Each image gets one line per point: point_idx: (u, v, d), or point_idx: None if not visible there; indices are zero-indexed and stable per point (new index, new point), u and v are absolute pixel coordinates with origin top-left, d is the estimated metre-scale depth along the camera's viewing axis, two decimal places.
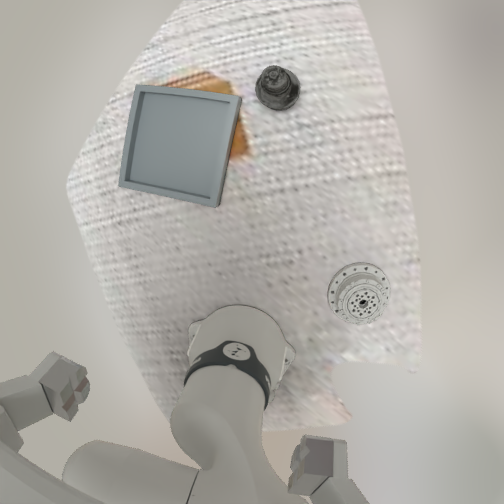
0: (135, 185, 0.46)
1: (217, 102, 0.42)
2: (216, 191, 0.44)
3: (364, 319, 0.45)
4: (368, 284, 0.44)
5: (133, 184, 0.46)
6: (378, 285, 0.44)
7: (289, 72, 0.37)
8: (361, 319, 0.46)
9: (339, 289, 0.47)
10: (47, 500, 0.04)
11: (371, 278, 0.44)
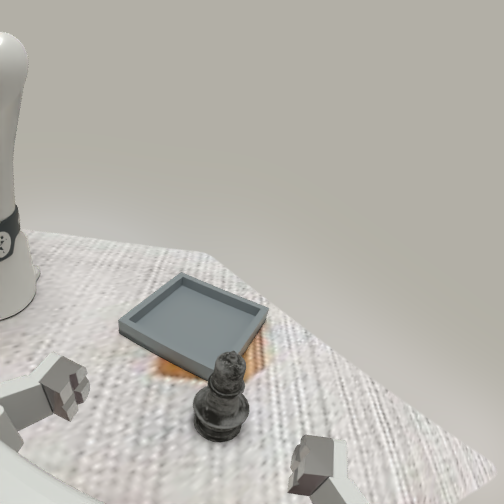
0: (174, 281, 0.51)
1: None
2: (132, 326, 0.40)
3: None
4: None
5: (176, 280, 0.51)
6: None
7: (239, 422, 0.29)
8: None
9: None
10: (47, 500, 0.04)
11: None
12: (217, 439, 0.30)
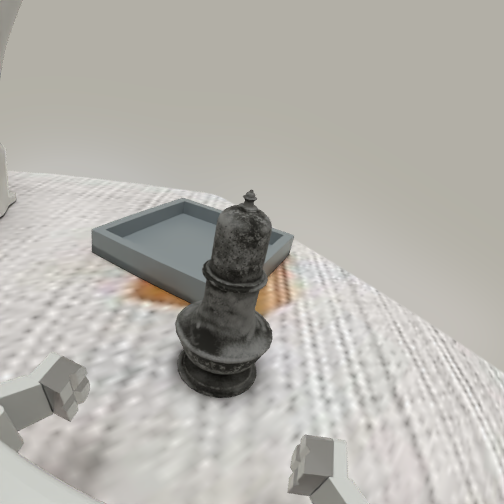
0: (173, 203, 0.40)
1: None
2: (107, 235, 0.29)
3: None
4: None
5: (175, 203, 0.40)
6: None
7: (255, 353, 0.17)
8: None
9: None
10: (47, 500, 0.04)
11: None
12: (214, 392, 0.18)
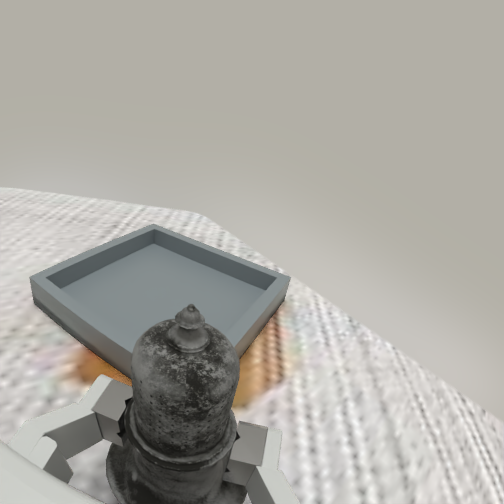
0: (139, 233, 0.31)
1: None
2: (46, 287, 0.20)
3: None
4: None
5: (142, 232, 0.32)
6: None
7: None
8: None
9: None
10: (47, 500, 0.04)
11: None
12: None
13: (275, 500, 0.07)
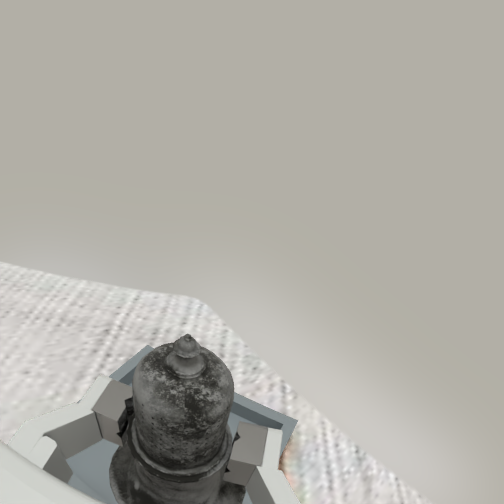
0: (132, 364, 0.27)
1: None
2: None
3: None
4: None
5: (136, 363, 0.27)
6: None
7: None
8: None
9: None
10: (47, 500, 0.04)
11: None
12: None
13: (275, 500, 0.07)
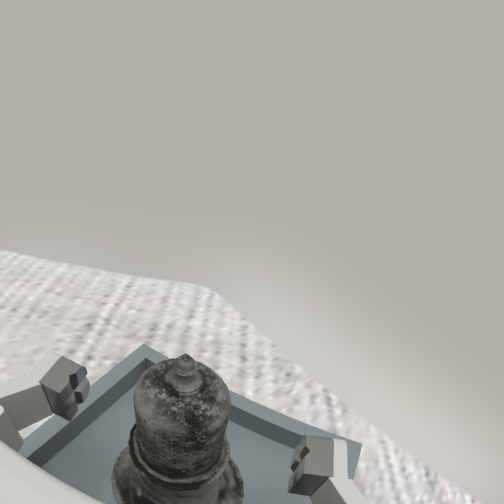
0: (122, 372, 0.18)
1: None
2: None
3: None
4: None
5: (127, 369, 0.19)
6: None
7: None
8: None
9: None
10: (47, 500, 0.04)
11: None
12: None
13: None
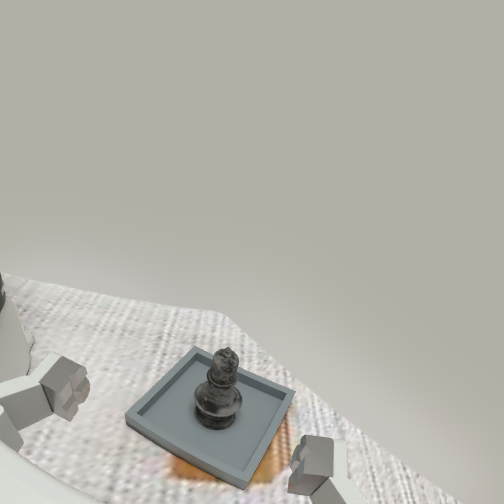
0: (187, 359, 0.43)
1: (247, 463, 0.31)
2: (141, 422, 0.31)
3: None
4: None
5: (189, 358, 0.43)
6: None
7: (233, 411, 0.34)
8: None
9: None
10: (47, 500, 0.04)
11: None
12: (214, 428, 0.35)
13: None
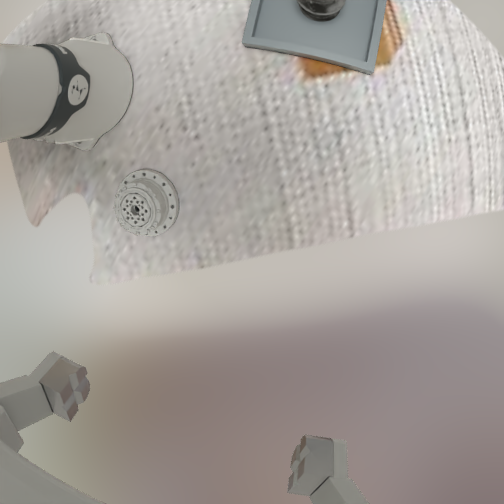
0: None
1: (366, 48, 0.32)
2: (260, 43, 0.32)
3: (120, 214, 0.42)
4: (155, 211, 0.41)
5: None
6: (155, 223, 0.42)
7: (341, 5, 0.27)
8: (119, 211, 0.42)
9: (147, 181, 0.42)
10: (47, 500, 0.04)
11: (162, 214, 0.42)
12: (325, 19, 0.31)
13: None
